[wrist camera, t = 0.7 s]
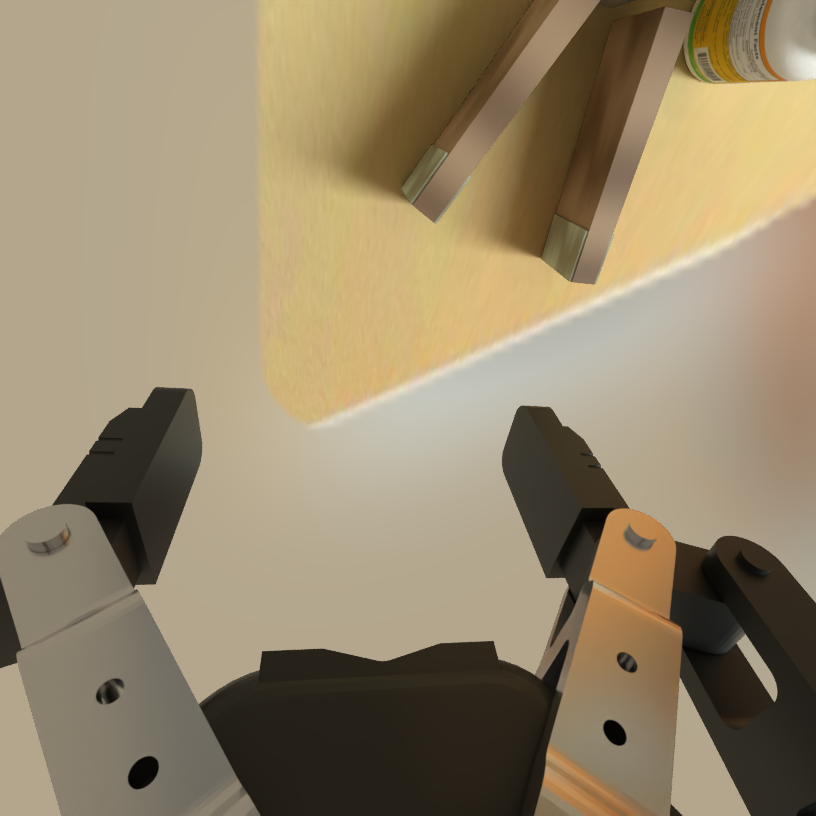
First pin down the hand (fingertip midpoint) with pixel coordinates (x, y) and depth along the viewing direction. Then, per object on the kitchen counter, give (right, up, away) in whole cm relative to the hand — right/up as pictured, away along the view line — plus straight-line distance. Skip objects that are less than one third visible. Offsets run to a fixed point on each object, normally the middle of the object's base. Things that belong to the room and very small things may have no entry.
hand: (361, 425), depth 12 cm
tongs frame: (+11, +18, +16) cm, 27 cm away
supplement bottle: (+19, +22, +15) cm, 33 cm away
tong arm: (+5, +18, +15) cm, 24 cm away
